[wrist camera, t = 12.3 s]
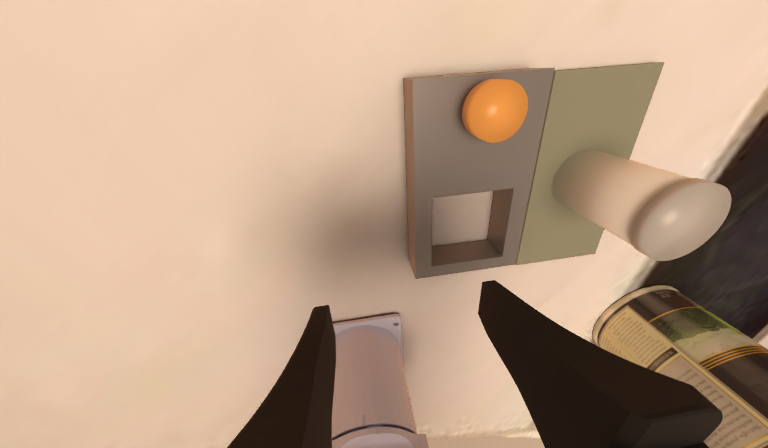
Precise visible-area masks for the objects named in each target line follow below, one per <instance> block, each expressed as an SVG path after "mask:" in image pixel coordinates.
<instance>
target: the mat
mask: <svg viewBox="0 0 768 448" xmlns="http://www.w3.org/2000/svg"><path fill="white" fill-rule="evenodd" d="M663 65H664V62H659V63H644V64H632V65H619V66H607V67H595V68H582V69H570V70H558V71H554V74H553V79H552V84H551V89H550V94H549V99H548V104H547V109H546V114H545V119H544V124H543V129H542V134H541V139H540V144H539V149H538V154H537V159H536V164H535V169H534V174H533V179H532V184H531V189H530V194H529V199H528V204H527V209H526V214H525V219H524V224H523V229H522V234H521V238H520V243H519V248H518V253H517V258H516V263H515V264H516V265H520V264H527V263H534V262H541V261H548V260H555V259H562V258H568V257H575V256H582V255H589V254H595V252H596V249H597V247H598V244H599V241H600V238H601V236H602V233H603V230H604V228H602V227H600V226H599V225H597V224H595V223H594V222H592V221H590V220H589V219H587V218H585V217H583V216H582V215H580V214H578V213H577V212H575V211H573V210H571V209H570V208H568V207H566V206H565V205H563V204H561V203H560V202H558V201H557V200H556V199H555V197H554V196H553V192H552V183H553V179H554V176H555V174H556V172H557V171H558V169H559V168H560V166H561V165H562V164H563V163H564V162H565V161H566V160H567V159H568V158H569V157H571V156H572V155H574V154H576V153H577V152H580V151H583V150H588V149H593V150H598V151H601V152H605V153H608V154H611V155H615V156H618V157H621V158H625V159H628V160H629V158H630V156H631V153H632V150H633V147H634V145H635V142H636V139H637V136H638V134H639V131H640V128H641V125H642V123H643V120H644V117H645V114H646V112H647V109H648V106H649V103H650V101H651V98H652V95H653V92H654V90H655V87H656V84H657V81H658V79H659V76H660V73H661V70H662V68H663Z"/></svg>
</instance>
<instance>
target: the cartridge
mask: <svg viewBox="0 0 768 448" xmlns="http://www.w3.org/2000/svg"><path fill="white" fill-rule="evenodd" d="M552 192H553V196H554V197H555V199H556V200H557V201H558V202H560V203H561V204H563V205H565V206H566V207H568V208H570V209H571V210H573V211H575V212H577V213H578V214H580V215H582V216H583V217H585V218H587V219H589V220H590V221H592V222H594V223H595V224H597V225H599V226H600V227H602V228H604V229H606V230H607V231H609V232H611V233H612V234H614V235H616V236H618V237H619V238H621V239H623V240H624V241H626V242H628V243H630V244H631V245H633V247H634V248H635V249H636V250H638V251H640V252H641V253H643V254H645V255H646V256H648V257H650V258H651V259H654V260H657V261H668V260H673V259H676V258H679V257H682V256H684V255H686V254H688V253H690V252H692V251H693V250H695V249H697V248H698V247H699V246H701V245H702V244H703V243H705V242H706V241H707V240H708V239H709V238H710V237H711V236H712V235H713V234H714V233H715V232H716V231H717V230H718V229H719V227H720V226H721V225H722V223H723V222H724V220H725V218H726V217H727V215H728V212H729V210H730V206H731V194H730V192H729V190H728V189H727V188H726V187H724V186H722V185H720V184H716V183H713V182H710V181H706V180H703V179H698V178H688V177H685V176H682V175H678V174H675V173H672V172H668V171H665V170H662V169H658V168H655V167H652V166H648V165H645V164H641V163H638V162H635V161H631V160H628V159H625V158H621V157H618V156H615V155H611V154H608V153H605V152H601V151H598V150H593V149H588V150H583V151H580V152H577V153H576V154H574V155H572V156H571V157H569V158H568V159H567V160H566V161H565V162H564V163H563V164H562V165H561V166H560V168H559V169H558V171H557V172H556V174H555V176H554V179H553V183H552Z"/></svg>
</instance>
